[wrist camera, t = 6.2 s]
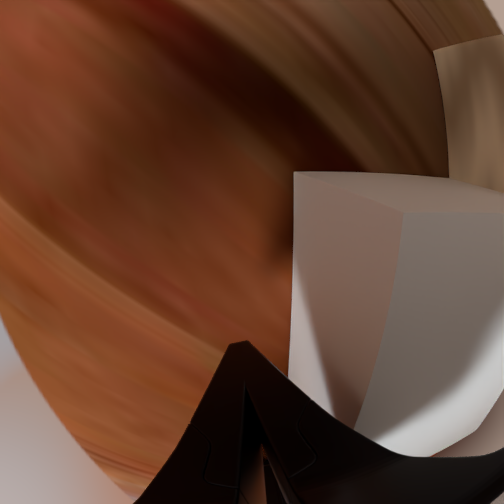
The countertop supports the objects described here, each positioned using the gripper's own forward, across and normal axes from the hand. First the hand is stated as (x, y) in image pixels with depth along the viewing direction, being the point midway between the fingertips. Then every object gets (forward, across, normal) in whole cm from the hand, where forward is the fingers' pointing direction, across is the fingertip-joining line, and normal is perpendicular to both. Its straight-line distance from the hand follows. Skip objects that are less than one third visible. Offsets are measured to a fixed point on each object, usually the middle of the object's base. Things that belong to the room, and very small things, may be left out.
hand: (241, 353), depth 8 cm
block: (+2, -6, 0) cm, 6 cm away
